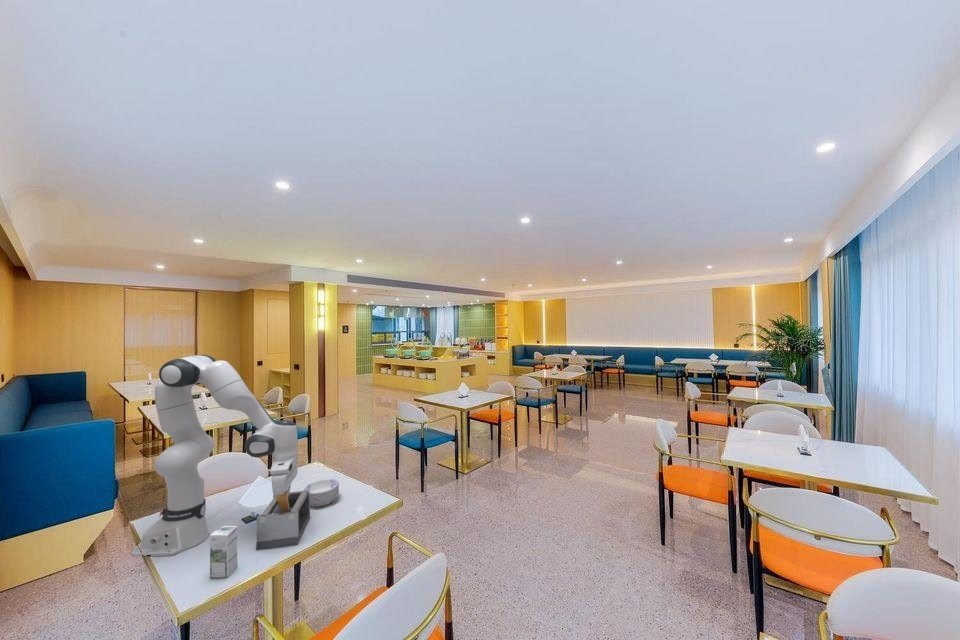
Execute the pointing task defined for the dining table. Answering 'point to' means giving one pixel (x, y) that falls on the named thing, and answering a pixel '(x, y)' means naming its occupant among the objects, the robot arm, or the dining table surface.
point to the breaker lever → (283, 503)
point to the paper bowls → (322, 491)
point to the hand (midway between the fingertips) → (286, 496)
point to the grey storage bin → (283, 522)
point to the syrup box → (223, 551)
